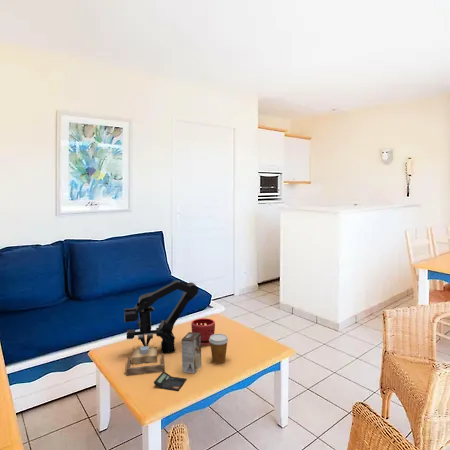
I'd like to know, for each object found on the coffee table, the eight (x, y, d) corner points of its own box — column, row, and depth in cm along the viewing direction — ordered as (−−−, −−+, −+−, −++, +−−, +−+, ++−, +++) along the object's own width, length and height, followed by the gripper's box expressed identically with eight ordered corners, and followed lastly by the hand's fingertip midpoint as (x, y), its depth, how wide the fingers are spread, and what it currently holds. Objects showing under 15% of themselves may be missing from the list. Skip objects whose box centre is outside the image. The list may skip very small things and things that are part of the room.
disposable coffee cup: (230, 357, 179) (230, 334, 178) (224, 366, 170) (224, 342, 169) (213, 354, 182) (213, 332, 181) (206, 363, 173) (206, 339, 172)
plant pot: (219, 343, 196) (219, 322, 194) (199, 349, 188) (198, 327, 187) (207, 335, 206) (207, 315, 205) (187, 341, 199) (187, 320, 198)
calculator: (178, 391, 149) (178, 385, 149) (153, 388, 152) (153, 381, 152) (186, 380, 158) (186, 374, 158) (163, 377, 161) (162, 370, 161)
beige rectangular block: (157, 354, 185) (157, 346, 184) (157, 363, 175) (157, 355, 174) (133, 356, 182) (133, 348, 182) (132, 365, 173) (132, 357, 172)
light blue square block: (148, 349, 181) (148, 345, 181) (148, 353, 177) (148, 349, 177) (140, 350, 180) (140, 346, 180) (140, 354, 176) (140, 350, 176)
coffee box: (189, 363, 174) (188, 331, 172) (201, 364, 172) (201, 332, 170) (181, 372, 165) (181, 339, 163) (194, 374, 163) (194, 340, 162)
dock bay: (163, 358, 178) (163, 353, 178) (164, 371, 166) (164, 365, 165) (128, 362, 175) (127, 356, 174) (126, 375, 162) (126, 369, 162)
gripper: (163, 313, 192) (163, 340, 194) (127, 315, 189) (128, 343, 190) (163, 320, 181) (164, 349, 183) (125, 323, 178) (127, 353, 179)
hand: (146, 348), depth 184 cm, fingers closed
